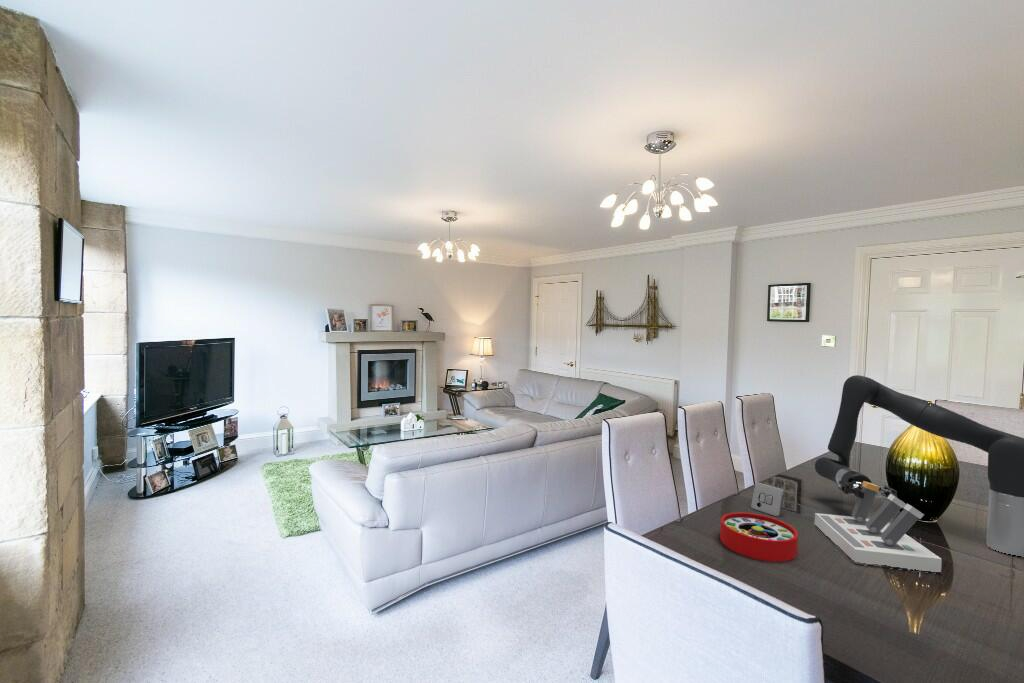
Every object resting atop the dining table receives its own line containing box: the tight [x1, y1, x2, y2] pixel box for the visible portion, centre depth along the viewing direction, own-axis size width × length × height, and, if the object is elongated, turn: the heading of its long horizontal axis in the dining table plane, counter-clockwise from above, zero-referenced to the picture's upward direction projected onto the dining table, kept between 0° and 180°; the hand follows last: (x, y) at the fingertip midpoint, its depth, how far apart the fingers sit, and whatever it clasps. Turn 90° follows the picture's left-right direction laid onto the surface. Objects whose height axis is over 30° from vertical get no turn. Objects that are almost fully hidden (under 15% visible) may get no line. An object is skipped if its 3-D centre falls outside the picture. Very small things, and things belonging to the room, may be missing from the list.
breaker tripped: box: [850, 481, 880, 522], centre depth 145 cm, size 3×3×12 cm
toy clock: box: [719, 512, 799, 563], centre depth 138 cm, size 20×6×20 cm
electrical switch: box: [750, 482, 785, 517], centre depth 164 cm, size 9×5×9 cm, turn 35°
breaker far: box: [880, 503, 925, 545], centre depth 129 cm, size 3×3×12 cm
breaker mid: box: [866, 494, 907, 533], centre depth 137 cm, size 3×3×12 cm
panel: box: [814, 512, 942, 573], centre depth 138 cm, size 20×26×4 cm
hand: (878, 497), depth 143 cm, fingers open, 8 cm apart
